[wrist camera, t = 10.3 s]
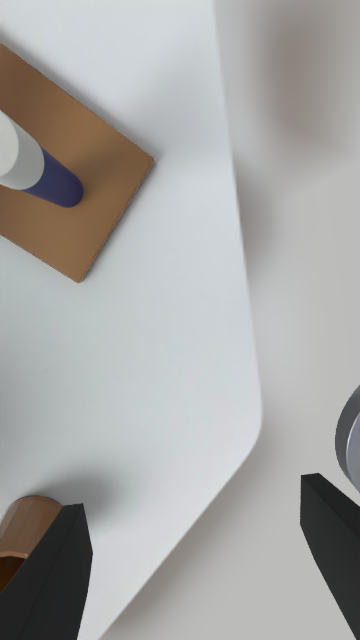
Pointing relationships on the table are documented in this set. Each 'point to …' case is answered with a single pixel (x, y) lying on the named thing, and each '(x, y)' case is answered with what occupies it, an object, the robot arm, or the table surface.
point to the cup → (23, 532)
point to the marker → (34, 167)
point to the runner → (77, 156)
